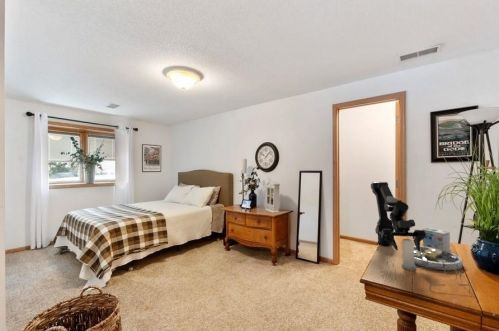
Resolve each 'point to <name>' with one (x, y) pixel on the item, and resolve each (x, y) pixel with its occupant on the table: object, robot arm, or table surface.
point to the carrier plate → (437, 259)
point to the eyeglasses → (445, 272)
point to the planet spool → (408, 254)
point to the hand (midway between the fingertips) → (408, 250)
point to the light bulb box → (437, 239)
